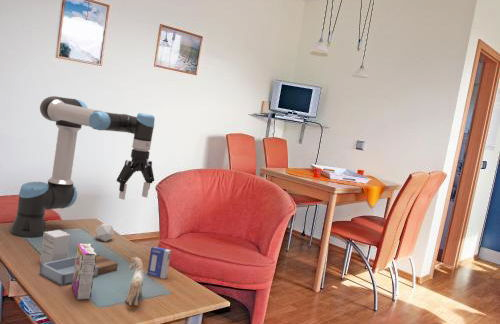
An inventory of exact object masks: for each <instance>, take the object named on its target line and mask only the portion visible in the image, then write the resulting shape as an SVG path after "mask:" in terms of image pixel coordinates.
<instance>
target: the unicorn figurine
mask: <svg viewBox="0 0 500 324" xmlns="http://www.w3.org/2000/svg"><path fill="white" fill-rule="evenodd" d="M124 255H125V256H126V257H127V258H128V259H129V260H130V261H131V263H130V265H129V268H128V269H129V270H133V269H134V268H135V271H134V273H133V275H132V276H131V277H132V278H131V280H130V282H129V285H128V287H129V288H128V291H127V295H126V297H125V302H126V304H129V306H131V305H132V303H133V305H134V306H135V307H136V306H138V299H139V297H141V296H142V292H143V286H144V281H145V276H144V273H145V271H144V269H145V268H144V264H143V261H142V259H141V258H140V257H138V256H135V257H134V256H132V257H131V256H130V255H128V254H127V253H125V252H124ZM134 298H135V300H134ZM133 301H134V302H133Z"/></svg>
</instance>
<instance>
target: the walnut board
mask: <svg viewBox="0 0 500 324" xmlns="http://www.w3.org/2000/svg"><path fill="white" fill-rule="evenodd" d="M95 266H99V267H98V274H97V277H98V276H101V275H105V274H109V273H113V272H116V271H118V266H119V265H118V263H117V262H116V261H113V260H111V259H109V258H106V257H105V256H102V255H101V254H97V256H96V262H95Z"/></svg>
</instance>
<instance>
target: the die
mask: <svg viewBox="0 0 500 324" xmlns="http://www.w3.org/2000/svg"><path fill="white" fill-rule="evenodd" d="M94 230H95V235H96V238H97V239H96V240H99V241H101V242H108V241H109V240H110V239H112V238H113V237H115V233H114V227H113V225H111V224H109V223H106V222H104V223H102V224H100V225H98V226H97V227H96V228H95V229H94Z"/></svg>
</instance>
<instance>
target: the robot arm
mask: <svg viewBox="0 0 500 324" xmlns="http://www.w3.org/2000/svg"><path fill="white" fill-rule="evenodd" d="M39 111H40V113H41V116H42V117H43V118H44V119H46V120H48V121H50V122H55V126H56V127H57V129H58V131H57V137H56V146H55V152H54V159H53V167H52V168H53V169H52V175H51V177H50V178H49V179H47V183H46V182H43V181H31V182H30V181H29V182H26V183H24V184H22V185H21V186H20V189H19V193H18V203H17V210H16V211H17V213H16V215H15V218H14V220H13V223H12V224H11V226H10V230H9V231H10V233H11V234H13V236H17V237H24V238H36V237H37V238H38V237H43V235H44V232H47V224H46V219H45V214H46V213H45V212H46V210H57V209H61V210H62V209H65V208H70V207H71V206H72V205H74V204H75V203H76V201H77V197H78V191H77V187H76V186H75V185H74V182H73V180H72V173H73V166H74V159H75V151H76V145H77V144H76V143H77V137H78V132H79V131H80V130H82V126H85V127H89V128H92V129H93V130H97V131H110V132H120V133H128V134H133V140H132V145H131V147H132V149H131V153H130V157H131V160H129V159H126V160H125V161H124V165H123V167H122V169H121V171H120V172H119V174H118V177H117V178H116V182H117V183H119V189H118V190H119V192H118V193H119V194H118V199H120V200H125V199H126V192H127V186H128V185H127V183H128V181H129V180H130V178H131V177H132V175H133V174H134V173H136V172H141V175H142V177H143V179H144V180H145V181H143V187H142V193H141V197H143V198H148V194H149V190H150V188H151V187H150V186H151V184H153V182H154V181H155V177H154V171H153V161H152V160H149V159H150V150H151V145H152V140H153V139H152V138H153V134H154V133H153V132H154V128H155V116H154V115H153V114H147V113H143V112H142V113H141V112H139V113H137V116H133V115H129V114H126V113H113V112H108V111H107V112H106V111H102V110H96V109H93V108H89V107H88V106H87V104H86V103H85V102H84V101H82V100H81V99H75V98H67V97H62V96H61V97H60V96H56V95H55V96H48V97H46V98H44V99H43V100H42V101H41V103H40V105H39Z"/></svg>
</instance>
